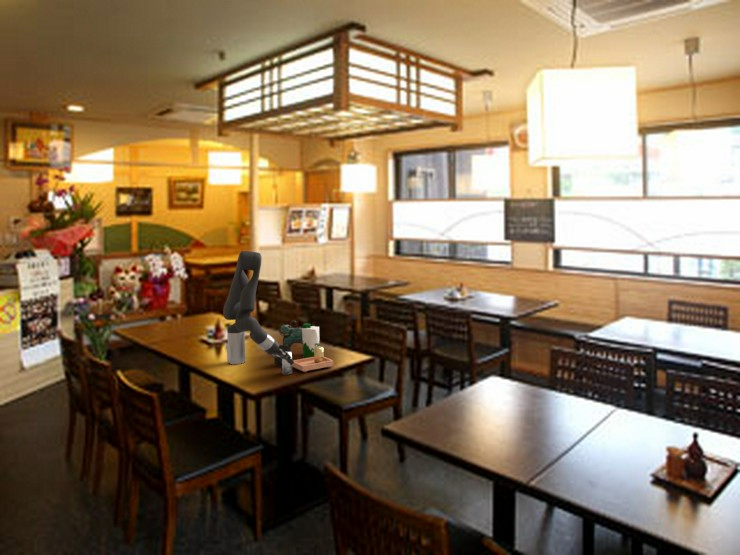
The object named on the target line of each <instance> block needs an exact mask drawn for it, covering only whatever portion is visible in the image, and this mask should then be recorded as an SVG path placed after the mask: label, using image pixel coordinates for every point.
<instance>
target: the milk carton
mask: <svg viewBox="0 0 740 555" xmlns="http://www.w3.org/2000/svg"><path fill="white" fill-rule="evenodd" d="M302 326H303V327H301V328H302V336H303V344H302V356H303V357H302V359H305V358H310V357H314V347H317V346H321V344H320V342H321V340H320V326H315V325H312V326H311V323H308V322H307V323H306V322H305V323H303V324H302Z"/></svg>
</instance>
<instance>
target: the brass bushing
mask: <svg viewBox="0 0 740 555" xmlns="http://www.w3.org/2000/svg"><path fill="white" fill-rule="evenodd" d="M324 352H325V351H324V346H321V345H320V346H317V347H314V363H321V362H324V357H325V355H324Z"/></svg>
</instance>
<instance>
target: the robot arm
mask: <svg viewBox="0 0 740 555" xmlns="http://www.w3.org/2000/svg"><path fill="white" fill-rule="evenodd" d="M262 260H263V259H262V254H261V252H257V251H249V250H242V251H240V252H239V254H238V257H237V262H236V268H235V271H234V275H233V278H232V281H231V284H230V289H229V292H228V295H227V296H228V297H227V298H226V301H225V303H224V306H223V308H222V309H223V312H222V314H223V318H224V319H225V320H227V321H234V323H232V324H231V325H228V327H227V328H226V330H227V345H226V360H227V363H228V364H229V363H230V365H231V364H232V365H241V363H242V364H245V363H246V362H247V360H246V359H247V358H246V357H247V356H246V355H247V354H246V337H245V336H246V334H245V332H249V338H250V339H251V340H252V341H253V342H255V344H257V345H258V347H259V348H260V349H261V350H263V352H264V353H266V354H267V355H269V356H272V357H273V358H274V357H275V358H277V359H278V360H280V361H281V362H282V359H284V360H286V361H287V362H288V363H289V364H290V365H292V364H293V363H294V361H293V358H292V359H291V356H290V355H289V354H288V353H286V352H285V351H284V350H283V351H282V349H280V348H279V345H280V343H279V342H278V341H277V340H276V339H275V338H274V337H273V336H272V335H270V334H269V333H268V332H266V331H265V330H264V329H263V328H262V326H261V324H260V323H259V321H258V319H257V318H255V317H254V316H252V315H250V314H251V313H252V312H254V311H255V309H256V308H255V307H256V295H257V294H256V293H257V289H258V288H257V287H258V284H259V279H260V273H261V268H262ZM244 270H245V271H253V272H252V276H251V278H250V279H249V278H248V276H247V274H246V272H245V271H244ZM282 356H283V357H282ZM244 362H245V363H244Z"/></svg>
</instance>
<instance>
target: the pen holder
mask: <svg viewBox="0 0 740 555" xmlns="http://www.w3.org/2000/svg"><path fill="white" fill-rule="evenodd" d="M279 348H280V349H282V351H283V350H284V351H291V352H292V346H283V344H282V345H281V344H279ZM273 358H274V359H273V360H274V366H275V367H277V366H278V368H282V362H281V361H280V360H278V359H277V358H275V357H273Z"/></svg>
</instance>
